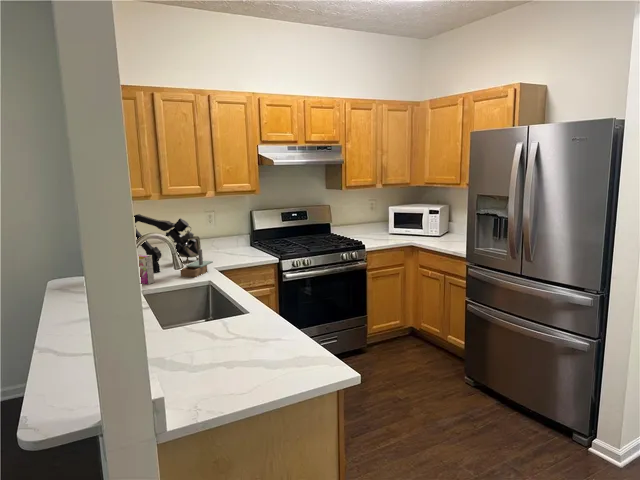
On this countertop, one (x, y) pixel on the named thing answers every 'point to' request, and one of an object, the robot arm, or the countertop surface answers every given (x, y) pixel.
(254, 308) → the countertop surface
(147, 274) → the candy bar box
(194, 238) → the tabletop clock
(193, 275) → the walnut box
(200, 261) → the lid
